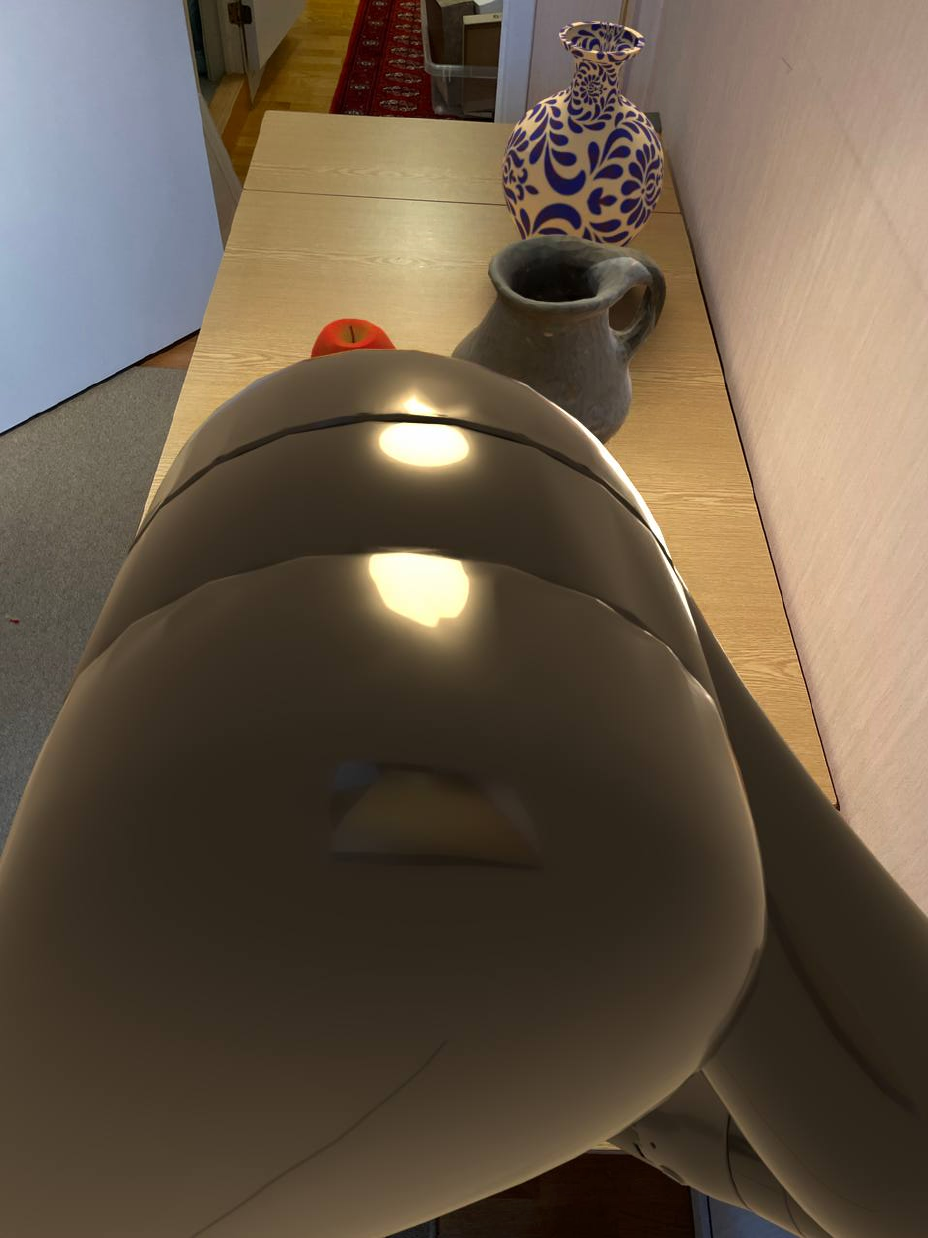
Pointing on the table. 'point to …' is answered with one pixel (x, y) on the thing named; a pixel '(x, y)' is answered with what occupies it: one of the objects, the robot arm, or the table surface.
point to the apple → (350, 337)
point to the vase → (586, 149)
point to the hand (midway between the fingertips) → (489, 999)
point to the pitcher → (567, 324)
